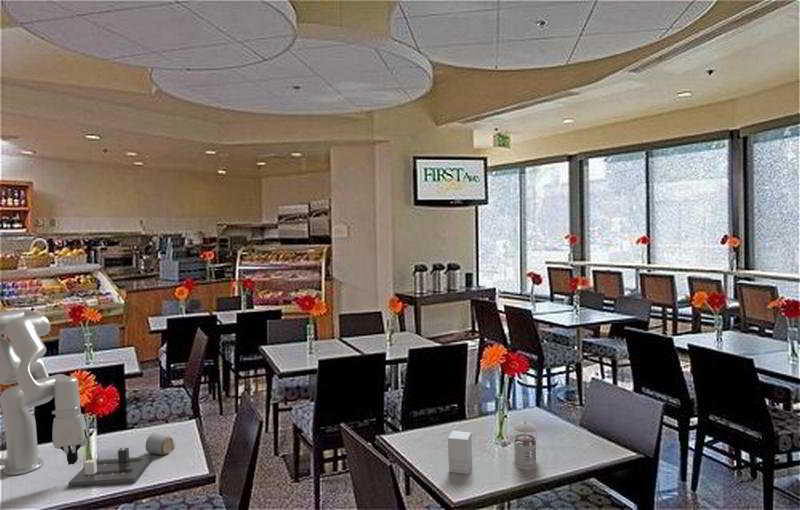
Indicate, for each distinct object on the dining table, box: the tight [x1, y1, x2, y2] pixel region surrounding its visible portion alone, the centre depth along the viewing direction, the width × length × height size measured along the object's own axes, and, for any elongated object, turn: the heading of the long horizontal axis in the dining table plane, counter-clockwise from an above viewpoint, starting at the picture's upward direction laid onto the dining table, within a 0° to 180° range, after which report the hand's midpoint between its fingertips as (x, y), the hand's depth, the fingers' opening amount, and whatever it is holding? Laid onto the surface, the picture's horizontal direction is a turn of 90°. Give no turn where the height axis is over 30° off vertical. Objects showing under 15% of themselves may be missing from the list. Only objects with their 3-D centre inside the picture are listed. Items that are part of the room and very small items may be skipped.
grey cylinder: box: [145, 432, 176, 456], centre depth 224 cm, size 11×8×8 cm
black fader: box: [117, 447, 130, 462], centre depth 211 cm, size 3×2×5 cm
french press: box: [511, 396, 540, 471], centre depth 206 cm, size 10×12×25 cm
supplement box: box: [447, 430, 473, 475], centre depth 202 cm, size 7×7×13 cm
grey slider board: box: [68, 455, 153, 489], centre depth 205 cm, size 22×18×2 cm
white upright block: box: [84, 459, 97, 475], centre depth 201 cm, size 3×2×5 cm
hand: (72, 462), depth 200 cm, fingers closed
